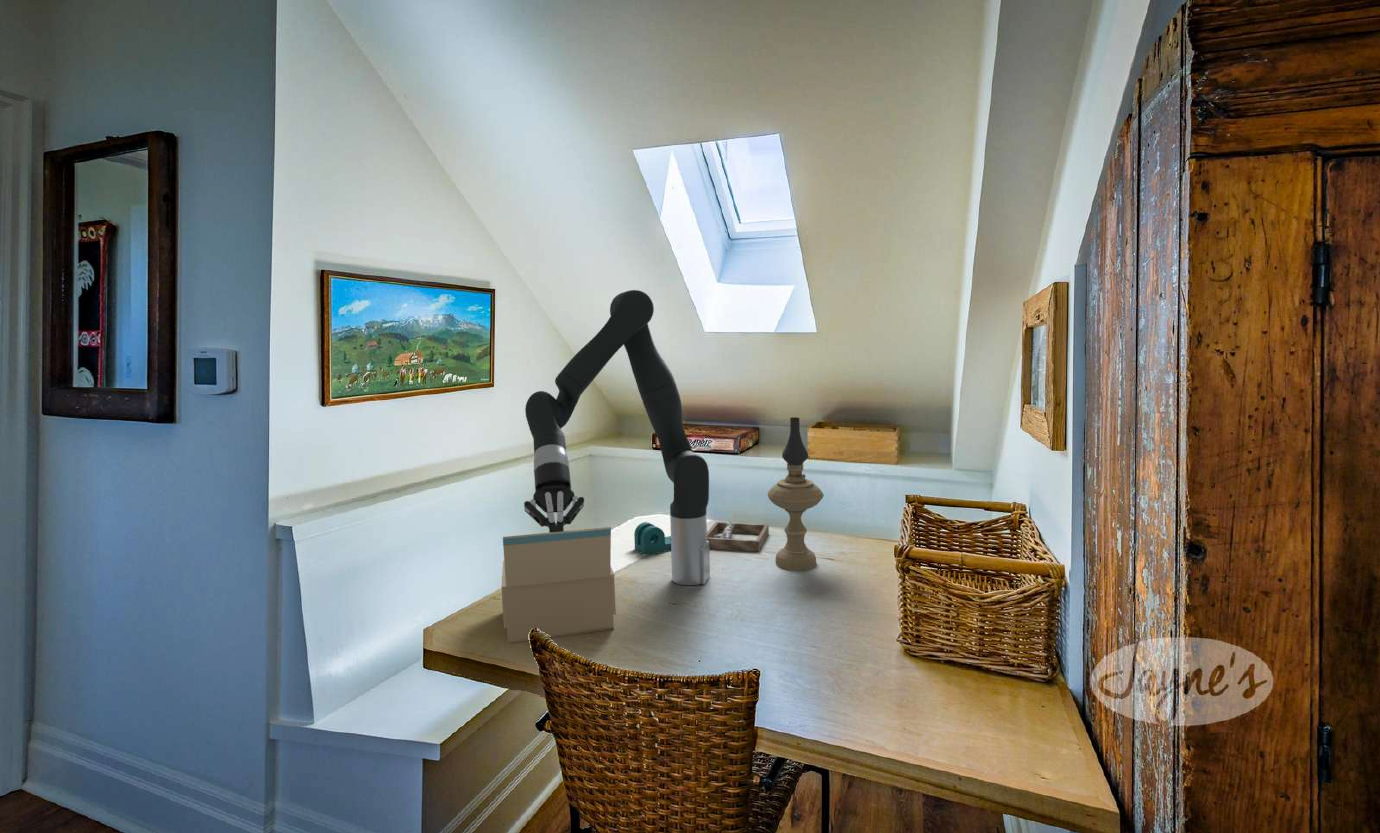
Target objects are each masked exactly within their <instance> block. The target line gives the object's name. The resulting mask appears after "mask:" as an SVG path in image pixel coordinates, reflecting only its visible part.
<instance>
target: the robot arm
mask: <svg viewBox="0 0 1380 833" xmlns="http://www.w3.org/2000/svg"><path fill="white" fill-rule="evenodd" d="M654 311H655V307H654V302H653V300H652V298H651V297H650V295H648V293H646V292H645V291H643V290H638V289H632V290H631V289H630V290H627V291H623V292H621V293H618V294H617V295H616V296H615V297H614V298H613V299H612V301H611V303H610V307H609V312H610V313H609V314H610V316H609V319H608V320H607V322H606V323H605V324H604V325H603V327H602V328H601V329H600V330H599V331H597V332H598V333H597V334H595V335H594V336H593V337H592V339H590V340H589V341H588V342H587V343H586V344H585V345H584V346H583V347H582V348H581V349H580V350H579V351H578V352H576V353H575V355H574V356H573V357H571V359H570V360H569V361H568V362H567V364H566V365H565V366H564V367H563V369H562V370H561V371H560V372H559V373H558V374H557V376H556V377H555V380H554V384H555V386H556V387H557V389H558V393H557V396H556V398H555V397H554V396H553V395H552V394H550V393H549V392H548V391H544V390H539V391H535V392H533V394H531V395H530V396H529V397H528V399H527V401H526V403H525V418H526V421H527V424H528V427H529V428H528V429H529V431H530V433H531V436H532V438H533V440H532V441H533V455H534V456H533V473H534V474H533V475H534V489H535V490H534V491H535V492H534V493H533V495H532V499H530V500H529V501H528V500H526V501H524V503H523V508H524V512H525V513H526V514H528V515H529V516H530V518H531V519H533V520H534V521H535V522H536V523H537V524H538V525H539V526H540V527H547V528H548V533H551V532H561V531H565V530H564V526H566V525H570V524H571V525H572V522H573V521H574V520H575V518H577V516H578V515H579V513H580V512H581V510H582V509H583V507H585V506H584V505H585V498H584V497H583V496H580V497H579V496H577V495H575V491H574V490H573V489H572V483H571V475H570V474H571V471H570V464H569V457H568V454H567V446H566V436H565V432H563V430H562V429H563V427H565V426H566V425H567V423H568V422H569V421H570V418H571V417H572V415H573V413H574V411H575V408H576V407H577V405H578V402H579V400H580V397H581V395H582V394H583V393H584V392H585V391H586V389H587V388H588V387H589V386H590V385H591V384H592V382H593V381H594V380H595V378H596V377H597V376H598V375H599V373H600V372H601V371H602V369H604V367H605V366H606V365H607V363H608V362H610V360H611V359H612V358H613V357H614V355H615V354H617V352H618V351H619V350H620V349H621V348H622V347H623V346H624V349H625V351H626V354H627V356H628V360H629V363H630V367H631V371H632V374H633V377H634V379H635V383H636V387H637V389H638V392H639V395H640V399H641V401H642V403H643V406H644V408H645V412H646V414H647V416H648V419H649V421H650V424H651V426H652V429H653V431H654V433H655V436H656V437H657V441H658V443H659V444H658V445H659V448H660V451H661V452H660V453H661V456H662V460H663V465H664V469H665V473H666V475H667V477H668V479H669V480H670V481H671V482H672V483H673V500H672V502H671V503H670V506H669V509H670V510H669V512H670V513H669V514H670V516H669V518H670V536H671V550H670V552H671V553H670V554H671V556H670V557H671V580H672V582H673V583H675V584H676V585H682V586H695V585H705V584H706V583H707V581H708V580H709V579H710V577H711V569H710V567H711V565H710V563H711V562H710V548H709V541H707V532H708V530H707V529H708V528H707V522H708V521H707V507H708V504H709V500H710V494H709V493H710V471H709V470H710V469H709V465H708V463H707V461H706V459H704V457H703V456H701V455H699V454H697V453H695V452H694V450H693V448H692V446H691V444H690V441H689V439H688V436H687V434H686V432H685V428H684V421H683V409H682V408H683V407H682V400H681V395H680V393H679V388H678V387H677V383H676V381H675V378H674V376H673V375H674V374H672V371H671V369H670V368H669V366H668V364H667V361H666V360H665V359H664V357H663V356H662V355H661V353H660V351H659V350H658V348H657V347H656V345H655V342H654V340H653V336H652V333H651V330H650V327H649V322H650V321H651V320H652V318H653V316H654V313H655V312H654ZM571 503H572V506H571V508H570V509H569V510H568V512H567V513H566V514H565V515H564V511H566V510H567V509H568V508H569V506H570V504H571ZM537 506H538V507H539V509H541V510H542V511H543V512H544V513H546V516H545V515H544V514H543V513H542V512H541V511H540V510H539V509H538V508H537ZM555 513H556V520H555Z"/></svg>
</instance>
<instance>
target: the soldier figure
mask: <svg viewBox="0 0 1380 833" xmlns="http://www.w3.org/2000/svg"><path fill="white" fill-rule="evenodd" d="M733 523H734V522H732V521H728V522H727V521H726V522H725V524H726V526H727V527H726V528H725V529H724V532H721V534H717V535H714V536H713V537H714V538H726V539H732V535H733V533H731V532H732V529H733V528H734V525H733Z"/></svg>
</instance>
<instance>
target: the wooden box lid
mask: <svg viewBox="0 0 1380 833" xmlns="http://www.w3.org/2000/svg"><path fill="white" fill-rule="evenodd" d="M611 536H612V527H611V526H609V527H608V526H607V527H606V526H605V527H596V528H595V527H594V528H585V529H575V530H572V529H571V530H564V531H561V532H551V533H549V532H540V533H532V534H521V535H508V536H502V544H503V545H502V546H503V557H504V558H503V559H504V560H503V561H504V562H505V576H506V588H507V587H516V586H525V585H534V584H543V583H552V582H561V581H570V580H579V579H588V578H597V577H606V576H610V566H611V561H612V560H611V559H612V558H611V549H612V548H611V546H612V545H611V544H612V539H611V538H612V537H611Z"/></svg>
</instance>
